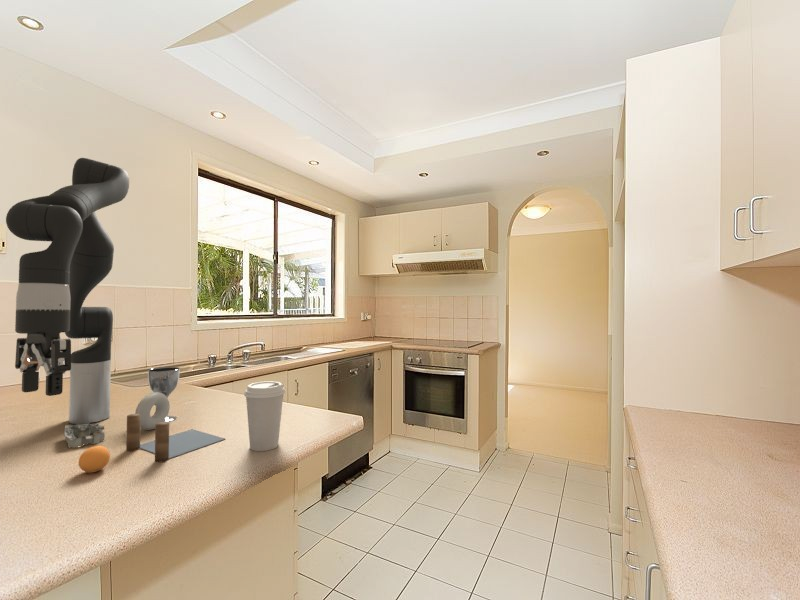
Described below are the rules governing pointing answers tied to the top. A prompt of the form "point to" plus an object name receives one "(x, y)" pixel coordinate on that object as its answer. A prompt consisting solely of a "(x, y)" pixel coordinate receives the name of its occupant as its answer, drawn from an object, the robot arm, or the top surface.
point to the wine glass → (164, 382)
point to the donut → (145, 408)
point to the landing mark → (184, 442)
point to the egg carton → (83, 434)
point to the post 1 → (133, 432)
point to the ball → (94, 459)
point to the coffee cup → (264, 414)
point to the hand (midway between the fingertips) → (41, 393)
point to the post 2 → (161, 441)
